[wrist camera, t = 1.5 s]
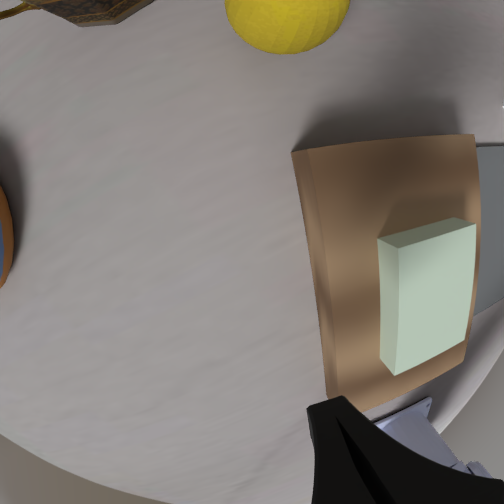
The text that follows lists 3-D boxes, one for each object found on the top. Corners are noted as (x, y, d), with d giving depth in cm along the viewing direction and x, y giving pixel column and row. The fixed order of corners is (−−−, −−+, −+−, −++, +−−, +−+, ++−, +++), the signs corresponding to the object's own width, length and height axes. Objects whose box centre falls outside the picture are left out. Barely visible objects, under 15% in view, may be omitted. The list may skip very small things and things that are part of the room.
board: (444, 345, 21) (463, 361, 19) (326, 395, 21) (339, 420, 18) (445, 135, 16) (474, 134, 13) (290, 152, 15) (307, 149, 13)
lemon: (205, 18, 13) (203, -70, 5) (285, -10, 12) (325, -87, 5) (252, 88, 14) (286, 23, 7) (332, 55, 14) (405, -2, 6)
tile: (447, 326, 17) (464, 339, 15) (379, 358, 17) (394, 376, 15) (453, 216, 15) (476, 223, 13) (377, 238, 14) (398, 248, 12)
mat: (513, 288, 22) (515, 289, 21) (450, 325, 21) (453, 327, 20) (516, 145, 17) (519, 145, 17) (451, 148, 16) (455, 148, 16)
